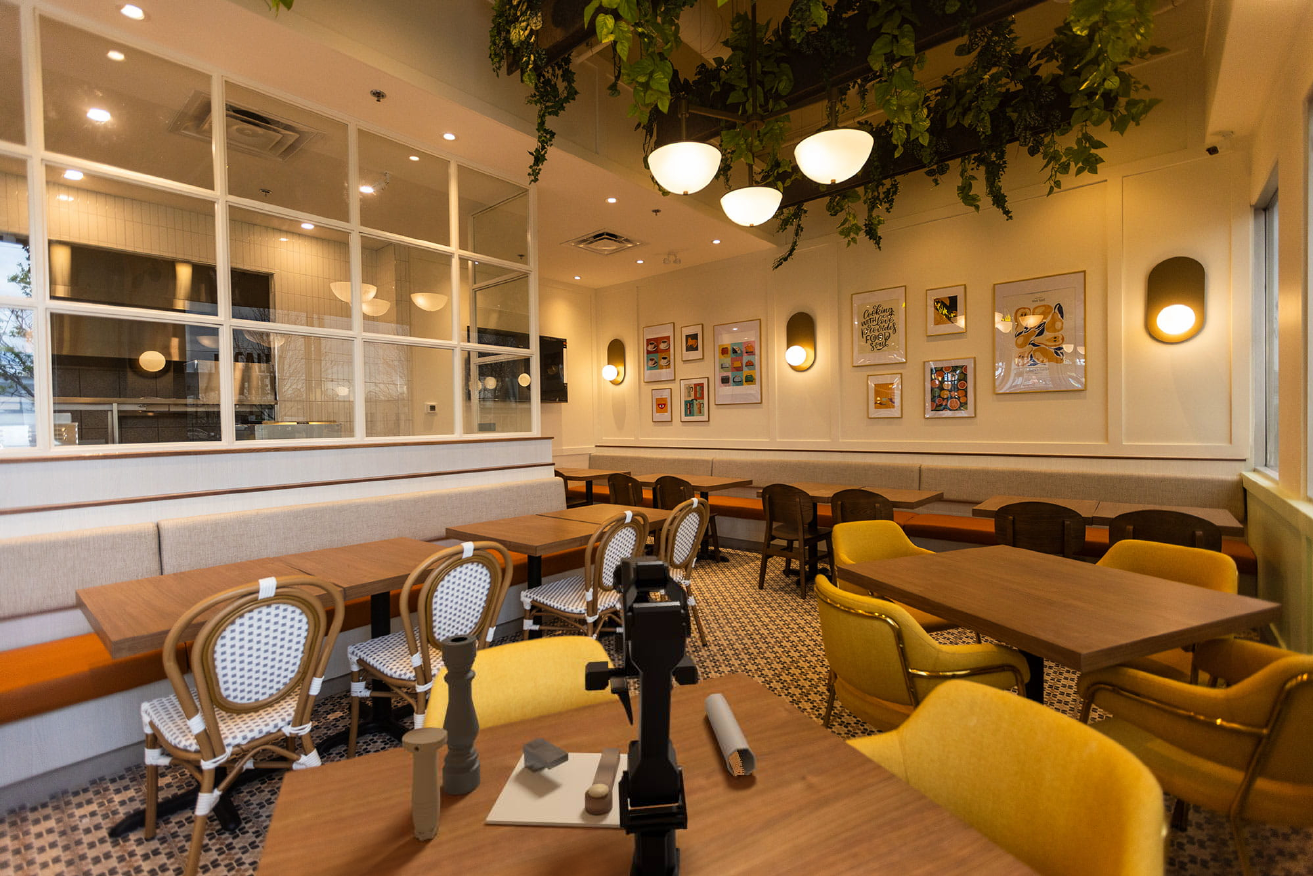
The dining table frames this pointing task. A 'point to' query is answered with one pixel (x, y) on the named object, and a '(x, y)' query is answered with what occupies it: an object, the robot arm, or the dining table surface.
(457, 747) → the candle holder
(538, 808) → the pivot plate
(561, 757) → the block
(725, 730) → the tube
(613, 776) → the link
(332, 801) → the dining table surface
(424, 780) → the handle
